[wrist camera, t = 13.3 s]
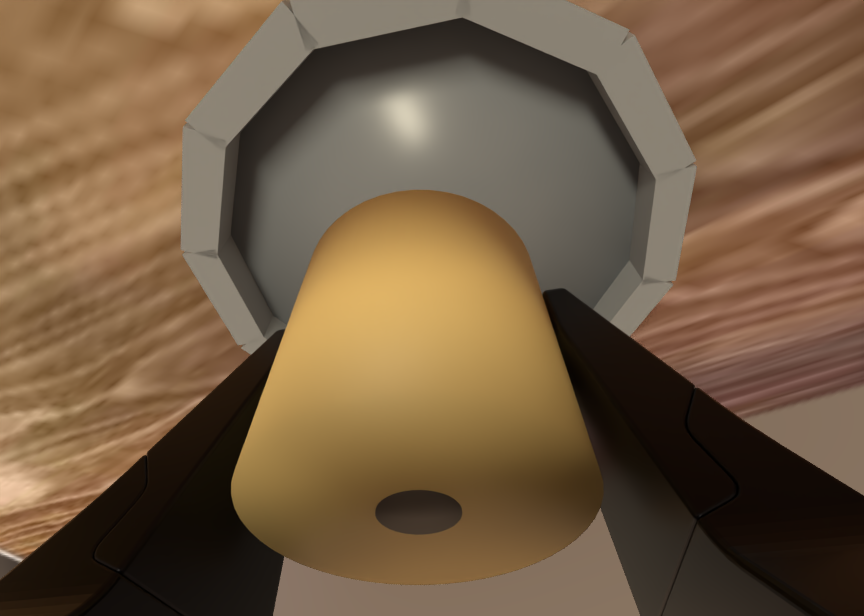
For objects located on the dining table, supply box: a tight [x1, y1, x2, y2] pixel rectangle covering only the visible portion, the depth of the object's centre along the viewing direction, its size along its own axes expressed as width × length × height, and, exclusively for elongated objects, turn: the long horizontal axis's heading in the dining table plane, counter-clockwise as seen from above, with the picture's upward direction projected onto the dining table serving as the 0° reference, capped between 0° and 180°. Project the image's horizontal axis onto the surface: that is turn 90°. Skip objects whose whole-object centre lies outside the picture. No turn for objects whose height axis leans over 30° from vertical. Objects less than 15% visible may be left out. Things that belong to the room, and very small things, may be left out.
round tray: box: [181, 0, 697, 354], centre depth 17 cm, size 17×17×3 cm
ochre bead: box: [231, 190, 604, 585], centre depth 8 cm, size 5×5×5 cm
